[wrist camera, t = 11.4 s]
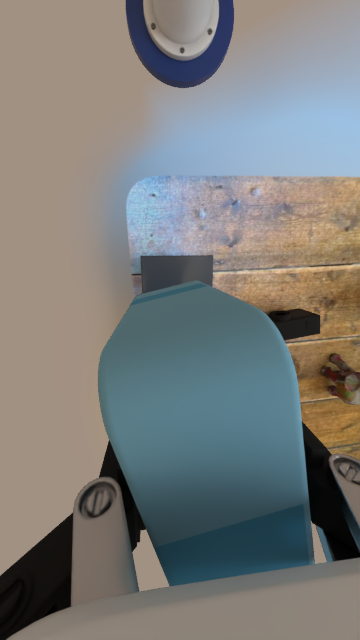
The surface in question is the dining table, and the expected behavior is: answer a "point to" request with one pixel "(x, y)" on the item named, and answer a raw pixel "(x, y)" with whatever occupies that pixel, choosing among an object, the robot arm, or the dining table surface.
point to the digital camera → (295, 323)
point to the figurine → (344, 381)
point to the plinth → (174, 271)
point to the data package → (208, 433)
